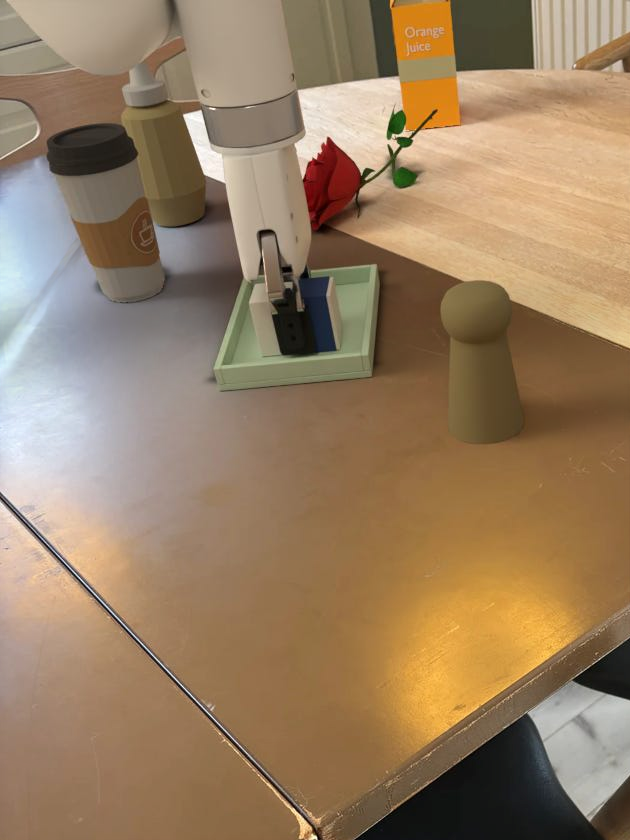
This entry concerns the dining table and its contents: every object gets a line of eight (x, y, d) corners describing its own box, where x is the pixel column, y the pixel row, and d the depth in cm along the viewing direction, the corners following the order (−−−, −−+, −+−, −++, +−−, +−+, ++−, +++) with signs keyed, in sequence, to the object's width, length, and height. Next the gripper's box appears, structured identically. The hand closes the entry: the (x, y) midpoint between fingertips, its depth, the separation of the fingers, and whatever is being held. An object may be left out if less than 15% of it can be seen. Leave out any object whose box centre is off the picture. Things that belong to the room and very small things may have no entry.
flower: (407, 51, 123) (276, 153, 106) (474, 92, 123) (353, 201, 106) (389, 119, 131) (263, 225, 113) (451, 158, 131) (336, 270, 113)
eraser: (261, 358, 90) (248, 302, 86) (267, 337, 93) (254, 282, 89) (340, 350, 90) (329, 295, 86) (343, 330, 93) (333, 275, 89)
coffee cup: (147, 310, 101) (97, 151, 91) (78, 305, 103) (21, 149, 93) (191, 276, 106) (148, 122, 96) (124, 271, 109) (75, 120, 99)
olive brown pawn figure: (459, 451, 77) (444, 313, 69) (439, 413, 81) (423, 279, 74) (534, 433, 78) (527, 295, 70) (511, 397, 82) (502, 264, 75)
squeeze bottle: (194, 201, 124) (150, 33, 112) (226, 216, 119) (184, 43, 107) (134, 221, 120) (81, 50, 108) (164, 237, 115) (113, 60, 103)
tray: (219, 391, 87) (213, 369, 86) (248, 297, 101) (243, 276, 100) (372, 377, 87) (368, 354, 85) (379, 284, 101) (376, 263, 99)
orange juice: (458, 107, 144) (444, -62, 131) (461, 125, 138) (446, -51, 124) (404, 113, 144) (383, -56, 131) (404, 131, 138) (383, -44, 124)
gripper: (223, 95, 85) (272, 304, 97) (186, 159, 73) (247, 389, 85) (311, 85, 85) (349, 296, 97) (290, 149, 72) (336, 381, 85)
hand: (301, 338), depth 91 cm, fingers closed on eraser, 4 cm apart
